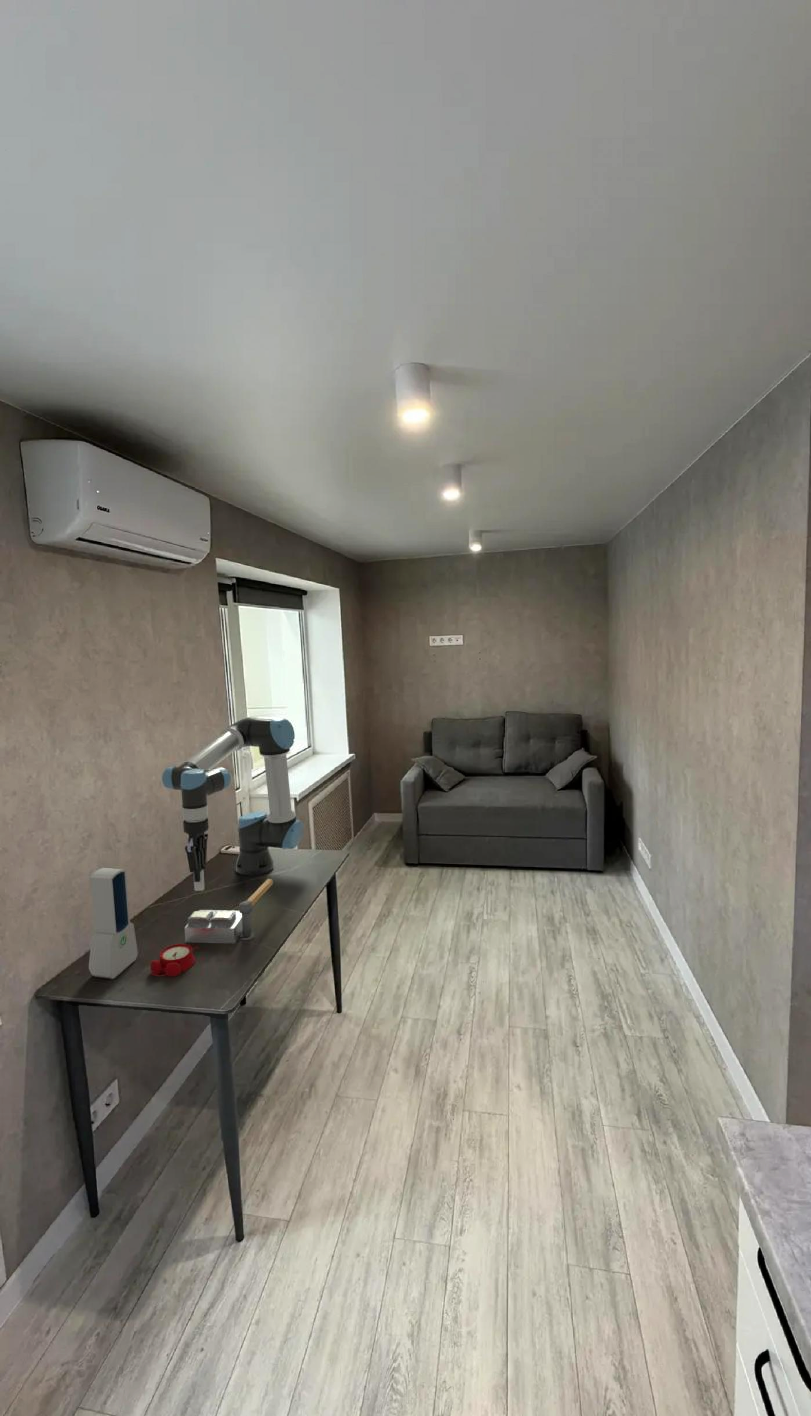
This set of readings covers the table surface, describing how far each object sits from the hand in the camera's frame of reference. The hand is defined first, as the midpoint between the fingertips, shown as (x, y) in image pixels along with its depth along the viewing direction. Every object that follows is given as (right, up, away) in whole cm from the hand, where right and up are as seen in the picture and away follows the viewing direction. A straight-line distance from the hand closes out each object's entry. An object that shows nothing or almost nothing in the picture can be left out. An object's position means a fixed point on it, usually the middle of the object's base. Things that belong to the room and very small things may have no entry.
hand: (199, 889), depth 194 cm
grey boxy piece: (+7, -15, +3) cm, 17 cm away
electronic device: (-20, -18, -16) cm, 31 cm away
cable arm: (+17, -14, +10) cm, 24 cm away
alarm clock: (-2, -19, -16) cm, 25 cm away
